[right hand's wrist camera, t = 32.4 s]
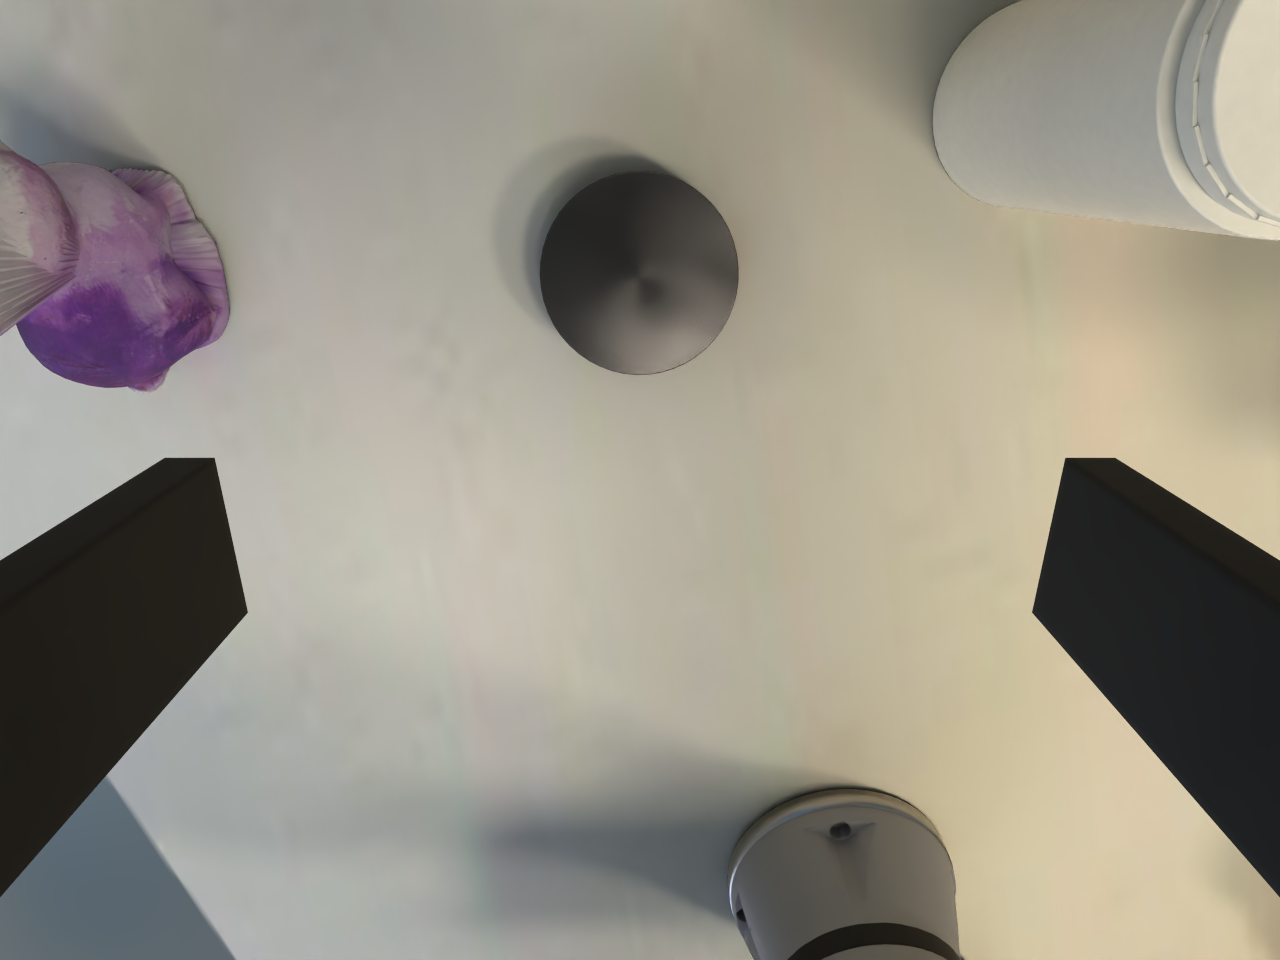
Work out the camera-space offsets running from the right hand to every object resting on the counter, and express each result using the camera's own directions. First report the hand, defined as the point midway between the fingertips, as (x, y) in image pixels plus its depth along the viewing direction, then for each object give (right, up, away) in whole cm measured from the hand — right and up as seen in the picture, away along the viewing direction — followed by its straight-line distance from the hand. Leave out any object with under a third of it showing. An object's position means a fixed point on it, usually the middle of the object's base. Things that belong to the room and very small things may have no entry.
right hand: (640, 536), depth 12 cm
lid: (0, +11, +26) cm, 28 cm away
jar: (+18, +18, +25) cm, 36 cm away
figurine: (-25, +12, +27) cm, 39 cm away
